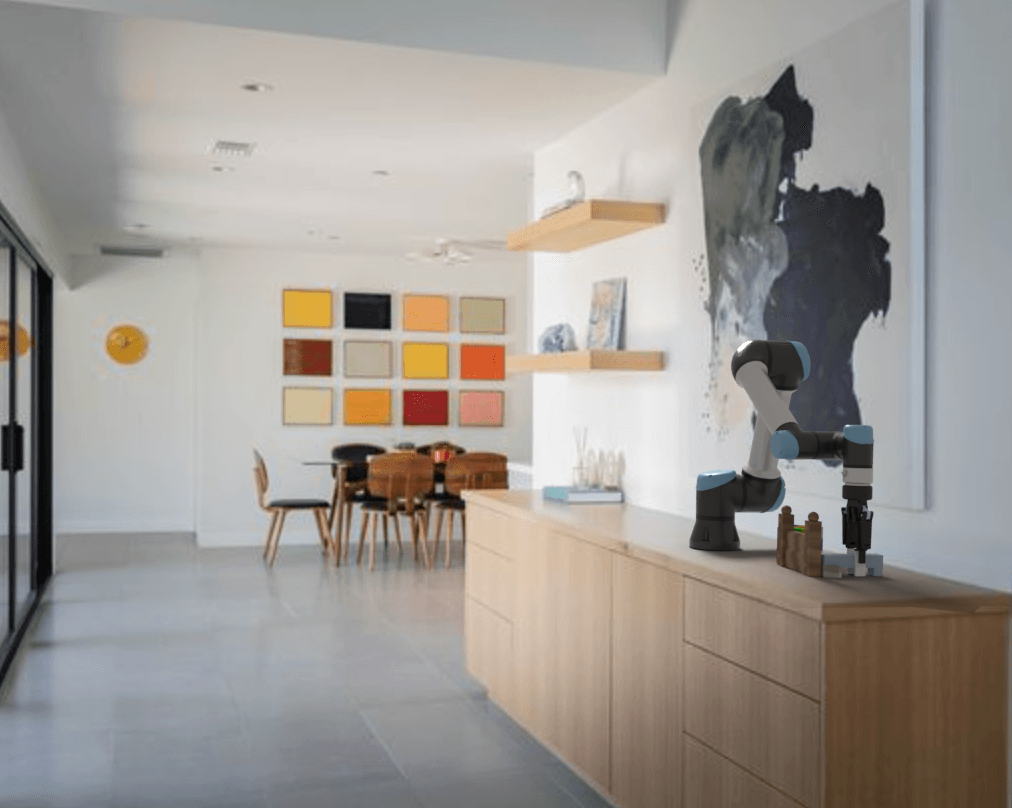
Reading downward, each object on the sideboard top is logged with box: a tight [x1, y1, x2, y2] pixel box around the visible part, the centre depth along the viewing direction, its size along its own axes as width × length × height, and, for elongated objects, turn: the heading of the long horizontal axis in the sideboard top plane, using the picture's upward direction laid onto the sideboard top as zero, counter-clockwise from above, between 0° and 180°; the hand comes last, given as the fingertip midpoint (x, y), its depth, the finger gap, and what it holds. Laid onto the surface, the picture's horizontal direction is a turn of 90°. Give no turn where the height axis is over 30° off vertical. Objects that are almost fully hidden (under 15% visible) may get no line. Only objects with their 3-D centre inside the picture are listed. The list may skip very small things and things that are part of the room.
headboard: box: [776, 505, 843, 579], centre depth 307 cm, size 22×8×16 cm, turn 10°
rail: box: [820, 552, 884, 577], centre depth 301 cm, size 4×16×5 cm, turn 100°
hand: (855, 574), depth 301 cm, fingers open, 4 cm apart
